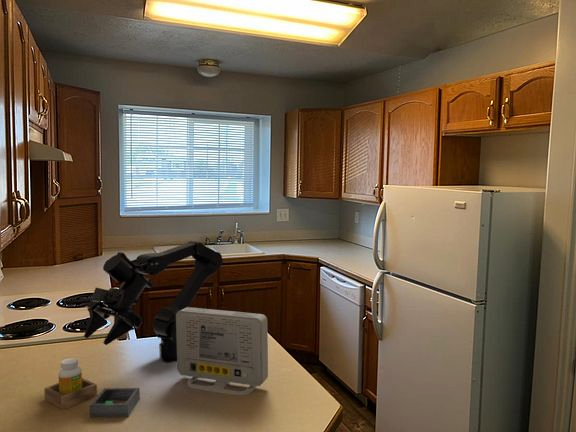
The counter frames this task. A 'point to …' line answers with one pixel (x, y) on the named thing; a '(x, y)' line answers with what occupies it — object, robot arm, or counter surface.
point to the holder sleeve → (70, 394)
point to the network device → (222, 348)
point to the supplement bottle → (70, 376)
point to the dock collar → (107, 408)
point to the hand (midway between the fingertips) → (94, 340)
